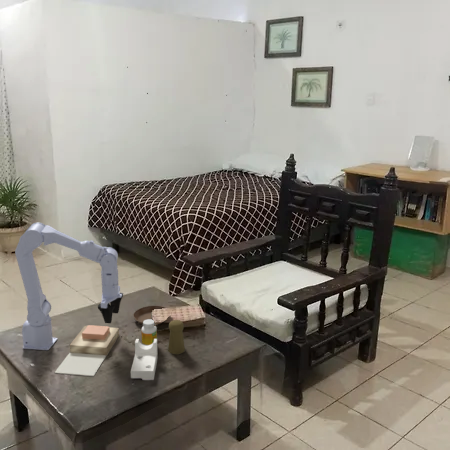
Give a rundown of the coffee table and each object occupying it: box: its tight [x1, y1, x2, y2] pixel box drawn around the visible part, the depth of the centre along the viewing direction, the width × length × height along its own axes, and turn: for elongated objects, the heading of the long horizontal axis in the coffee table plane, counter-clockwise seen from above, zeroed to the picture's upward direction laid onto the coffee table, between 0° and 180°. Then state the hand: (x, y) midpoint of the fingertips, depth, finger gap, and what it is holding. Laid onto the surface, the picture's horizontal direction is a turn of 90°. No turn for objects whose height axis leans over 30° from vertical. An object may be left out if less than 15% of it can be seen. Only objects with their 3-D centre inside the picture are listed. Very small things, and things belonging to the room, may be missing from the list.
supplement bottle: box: [140, 319, 158, 346], centre depth 174 cm, size 5×5×10 cm
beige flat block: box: [69, 325, 120, 356], centre depth 176 cm, size 13×14×3 cm
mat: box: [54, 352, 107, 377], centre depth 164 cm, size 13×12×1 cm
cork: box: [167, 319, 186, 355], centre depth 172 cm, size 6×6×11 cm
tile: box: [82, 324, 110, 340], centre depth 177 cm, size 8×6×2 cm
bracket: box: [130, 338, 159, 381], centre depth 161 cm, size 13×7×8 cm, turn 2°
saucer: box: [132, 305, 166, 326], centre depth 195 cm, size 15×15×3 cm
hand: (111, 317), depth 176 cm, fingers open, 7 cm apart
